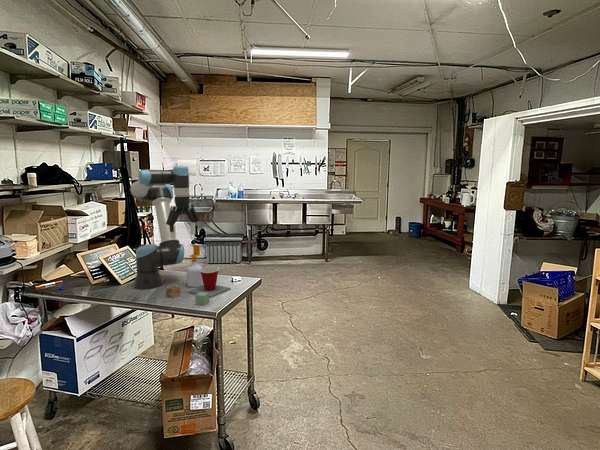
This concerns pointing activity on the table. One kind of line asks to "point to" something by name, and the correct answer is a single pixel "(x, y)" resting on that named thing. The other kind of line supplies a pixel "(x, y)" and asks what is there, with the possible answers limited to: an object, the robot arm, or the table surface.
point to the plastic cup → (209, 277)
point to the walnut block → (173, 291)
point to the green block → (202, 298)
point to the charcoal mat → (212, 293)
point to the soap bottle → (194, 269)
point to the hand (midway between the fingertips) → (183, 236)
